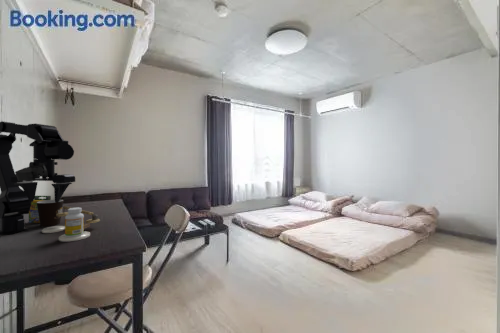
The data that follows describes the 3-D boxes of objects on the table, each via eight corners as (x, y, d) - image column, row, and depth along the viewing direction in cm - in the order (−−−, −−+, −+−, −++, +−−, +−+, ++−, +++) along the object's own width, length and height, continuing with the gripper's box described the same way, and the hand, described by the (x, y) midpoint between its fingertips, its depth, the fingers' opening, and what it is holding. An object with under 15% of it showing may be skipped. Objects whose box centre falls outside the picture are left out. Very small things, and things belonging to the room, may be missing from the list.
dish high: (36, 233, 86) (36, 230, 86) (52, 227, 93) (52, 225, 93) (55, 233, 86) (55, 231, 86) (69, 227, 93) (69, 226, 93)
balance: (52, 229, 90) (52, 207, 90) (63, 226, 95) (63, 204, 95) (94, 230, 90) (94, 207, 90) (102, 226, 95) (102, 205, 95)
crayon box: (28, 222, 99) (28, 196, 98) (34, 221, 102) (34, 195, 101) (45, 223, 99) (45, 196, 99) (51, 221, 102) (51, 195, 102)
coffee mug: (47, 228, 92) (47, 203, 92) (31, 226, 94) (31, 202, 93) (75, 220, 103) (75, 199, 103) (59, 219, 105) (59, 198, 105)
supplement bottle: (72, 232, 84) (72, 206, 84) (87, 232, 85) (87, 207, 84) (60, 237, 79) (61, 209, 79) (77, 237, 79) (77, 210, 79)
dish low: (51, 241, 77) (51, 239, 77) (72, 233, 86) (72, 231, 86) (78, 241, 77) (78, 239, 77) (95, 233, 86) (95, 231, 86)
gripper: (-7, 158, 74) (-7, 205, 74) (50, 159, 74) (50, 206, 74) (26, 158, 85) (26, 200, 85) (76, 159, 85) (76, 200, 86)
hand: (44, 201), depth 82 cm, fingers open, 9 cm apart
